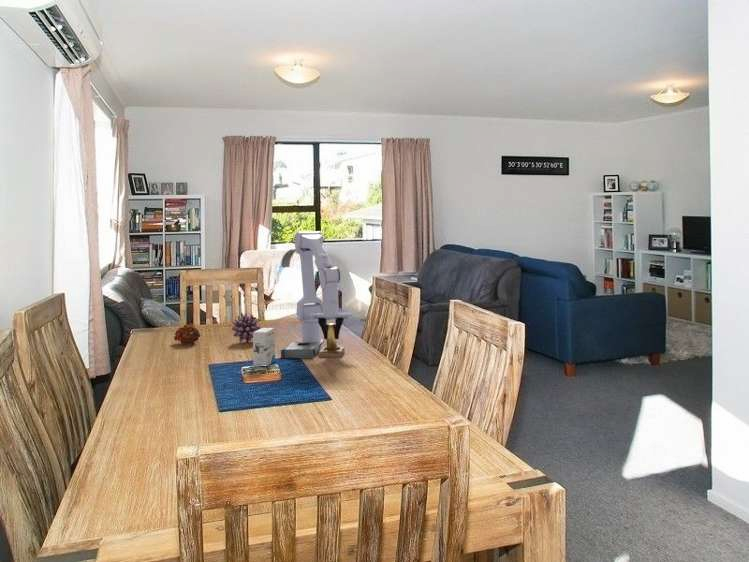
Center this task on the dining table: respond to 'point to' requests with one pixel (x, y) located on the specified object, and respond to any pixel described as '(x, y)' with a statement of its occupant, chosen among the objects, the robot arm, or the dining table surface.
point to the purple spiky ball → (245, 327)
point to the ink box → (263, 346)
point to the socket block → (302, 350)
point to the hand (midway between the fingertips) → (331, 338)
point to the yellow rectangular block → (331, 337)
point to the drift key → (283, 352)
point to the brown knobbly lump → (187, 334)
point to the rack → (331, 352)
